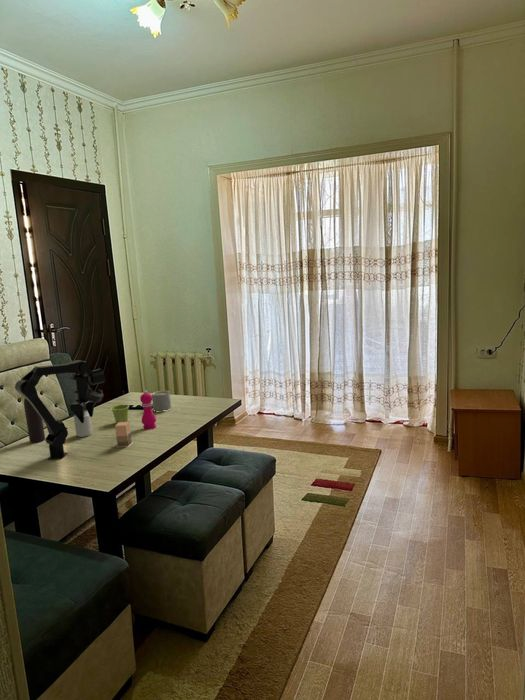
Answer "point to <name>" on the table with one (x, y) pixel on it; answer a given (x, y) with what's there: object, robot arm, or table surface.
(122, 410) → the plant pot
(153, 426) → the pepper mill
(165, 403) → the coffee mug
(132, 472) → the table surface
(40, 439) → the wine bottle
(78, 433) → the can
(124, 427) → the terracotta block
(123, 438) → the walnut base block
